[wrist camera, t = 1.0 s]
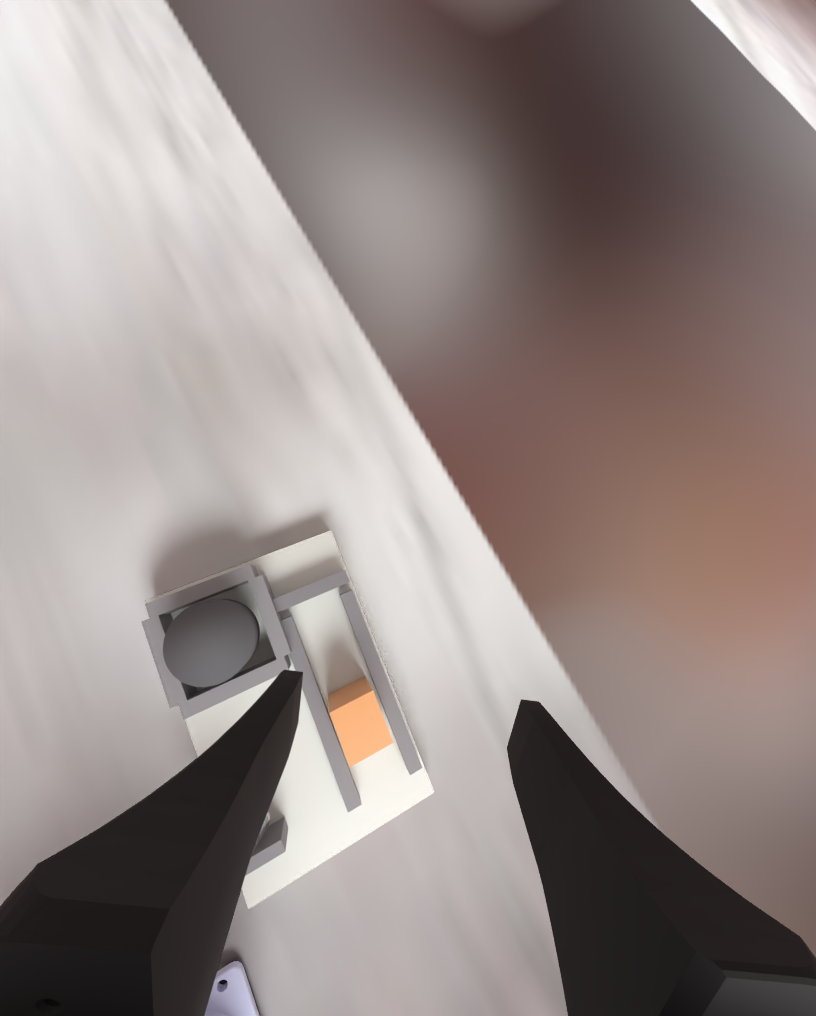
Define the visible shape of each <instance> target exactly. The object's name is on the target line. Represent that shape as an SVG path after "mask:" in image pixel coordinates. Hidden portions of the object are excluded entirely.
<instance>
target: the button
mask: <svg viewBox="0 0 816 1016" xmlns="http://www.w3.org/2000/svg"><path fill="white" fill-rule="evenodd" d="M259 638H260V628H259V623H258V620H257V618H256V616H255V615H254V613H253V612H252V611H251V609H249V608H248V607H247V606H246V605H244V604H243V603H241V602H238V601H235V600H230V599H218V600H210V601H204V602H200V603H197V604H194V605H192V606H190V607H188V608H187V609H185V610H184V611H182V612H181V613H180V614H179V615H178V616H177V617H176V618H175V619H174V620H173V621H172V623H171V624H170V626H169V628H168V630H167V632H166V634H165V637H164V642H163V657H164V661H165V663H166V666H167V668H168V669H169V671H170V672H171V673H172V675H173V676H174V677H175V678H177V679H178V680H179V681H181V682H183V683H185V684H187V685H191V686H195V687H209V686H214V685H218V684H220V683H223V682H225V681H227V680H228V679H230V678H231V677H233V676H234V675H235V674H236V673H237V672H239V670H240V669H241V668H242V667H243V666H244V665H245V664H246V663H247V662H248V661H249V660H250V659H251V657H252V656H253V654H254V653H255V651H256V649H257V646H258V643H259Z"/></svg>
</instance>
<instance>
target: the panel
mask: <svg viewBox="0 0 816 1016" xmlns="http://www.w3.org/2000/svg"><path fill="white" fill-rule="evenodd" d="M218 599H230V600H235V601H238V602H241V603H243V604H244V605H246V606H247V607H248V608H249V609H251V611H252V612H253V613H254V615H255V616H256V618H257V620H258V623H259V628H260V638H259V643H258V646H257V649H256V651H255V653H254V654H253V656H252V657H251V659H250V660H249V661H248V662H247V663H246V664H245V665H244V666H243V667H242V668H241V669H240V670H239V672H237V673H236V674H235V675H234V676H233V677H231V678H230V679H228V680H227V681H225V682H223V683H220V684H218V685H214V686H209V687H195V686H191V685H187V684H185V683H183V682H181V681H179V680H178V679H177V678H175V677H174V676H173V675H172V673H171V672H170V671H169V669H168V668H167V666H166V663H165V661H164V657H163V642H164V637H165V634H166V632H167V630H168V628H169V626H170V624H171V623H172V621H173V620H174V619H175V618H176V617H177V616H178V615H179V614H180V613H181V612H182V611H184V610H185V609H187V608H188V607H190V606H192V605H194V604H197V603H200V602H204V601H210V600H218ZM145 602H146V604H145V605H146V608H147V611H148V614H149V617H150V619H148V620H145V621H142V625H143V628H144V631H145V634H146V637H147V640H148V643H149V646H150V649H151V652H152V655H153V658H154V661H155V664H156V667H157V670H158V673H159V676H160V679H161V682H162V685H163V688H164V691H165V694H166V697H167V700H168V703H169V706H170V708H172V707H174V706H176V705H179V707H180V710H181V713H182V716H183V719H185V721H186V724H187V727H188V730H189V733H190V736H191V739H192V742H193V745H194V748H195V751H196V754H197V757H199V756H200V755H201V754H202V753H203V752H205V751H206V750H207V749H208V748H209V747H210V746H211V745H212V744H214V743H215V742H216V741H217V740H218V739H219V738H220V737H221V736H222V735H223V734H224V733H225V732H226V731H227V730H228V729H229V728H230V727H231V726H233V725H234V724H235V723H236V722H237V721H238V720H239V719H240V718H241V717H242V716H243V714H244V713H245V712H246V711H247V710H248V709H249V708H250V707H251V706H252V705H253V704H254V703H255V702H256V701H257V700H258V698H259V697H260V696H261V695H262V694H263V693H264V692H265V691H266V689H267V688H268V687H269V686H270V685H271V684H272V682H273V681H274V680H275V679H276V677H277V676H278V675H279V674H280V672H282V671H283V670H292V671H299V672H303V680H302V691H301V701H300V711H299V721H298V726H297V729H296V733H295V737H294V740H293V744H292V748H291V751H290V755H289V758H288V760H287V763H286V766H285V768H284V771H283V774H282V776H281V779H280V781H279V784H278V787H277V789H276V792H275V794H274V797H273V799H272V802H271V805H270V807H269V810H268V812H269V814H270V822H269V826H268V828H267V829H266V831H265V833H264V834H263V836H262V838H261V839H260V841H259V843H258V844H257V846H256V848H255V849H254V851H253V853H252V855H251V858H250V862H249V865H248V868H247V872H246V875H245V878H244V881H243V885H242V888H241V889H242V892H243V895H244V898H245V901H246V904H247V907H248V909H250V908H251V907H253V906H255V905H256V904H258V903H259V902H261V901H262V900H264V899H266V898H267V897H269V896H270V895H272V894H274V893H275V892H277V891H278V890H280V889H282V888H283V887H285V886H286V885H288V884H289V883H291V882H293V881H294V880H296V879H297V878H299V877H301V876H302V875H304V874H305V873H307V872H309V871H310V870H312V869H313V868H315V867H316V866H318V865H320V864H321V863H323V862H324V861H326V860H328V859H329V858H331V857H332V856H334V855H336V854H337V853H339V852H340V851H342V850H343V849H345V848H347V847H348V846H350V845H351V844H353V843H355V842H356V841H358V840H359V839H361V838H363V837H364V836H366V835H367V834H369V833H370V832H372V831H374V830H375V829H377V828H378V827H380V826H382V825H383V824H385V823H386V822H388V821H390V820H391V819H393V818H394V817H396V816H397V815H399V814H401V813H402V812H404V811H405V810H407V809H409V808H410V807H412V806H413V805H415V804H417V803H418V802H420V801H421V800H423V799H424V798H426V797H428V796H429V795H431V794H432V793H434V790H433V787H432V785H431V782H430V780H429V777H428V775H427V772H426V769H425V767H424V764H423V762H422V759H421V757H420V754H419V752H418V749H417V747H416V744H415V742H414V739H413V736H412V734H411V731H410V729H409V726H408V724H407V721H406V719H405V716H404V714H403V711H402V708H401V706H400V703H399V701H398V698H397V696H396V693H395V691H394V688H393V686H392V683H391V681H390V678H389V675H388V673H387V670H386V668H385V665H384V663H383V660H382V658H381V655H380V653H379V650H378V647H377V645H376V642H375V640H374V637H373V635H372V632H371V630H370V627H369V625H368V622H367V620H366V617H365V614H364V612H363V609H362V607H361V604H360V602H359V599H358V597H357V594H356V592H355V589H354V586H353V584H352V581H351V579H350V576H349V574H348V571H347V569H346V566H345V564H344V561H343V559H342V556H341V553H340V551H339V548H338V546H337V543H336V541H335V538H334V536H333V533H332V531H331V530H330V531H327V532H325V533H322V534H319V535H317V536H314V537H311V538H309V539H306V540H303V541H301V542H298V543H296V544H293V545H290V546H288V547H285V548H282V549H280V550H277V551H274V552H272V553H269V554H266V555H264V556H261V557H258V558H256V559H253V560H251V561H248V562H245V563H243V564H240V565H237V566H235V567H232V568H229V569H227V570H224V571H221V572H219V573H216V574H213V575H211V576H208V577H206V578H203V579H200V580H198V581H195V582H192V583H190V584H187V585H184V586H182V587H179V588H176V589H174V590H171V591H168V592H166V593H163V594H161V595H158V596H155V597H153V598H150V599H147V600H145ZM364 676H366V678H367V680H368V682H369V684H370V685H371V687H372V689H373V691H374V694H375V696H376V699H377V702H378V704H379V707H380V709H381V712H382V714H383V717H384V720H385V722H386V725H387V727H388V730H389V733H390V735H391V738H392V740H393V743H392V744H390V745H388V746H387V747H385V748H383V749H381V750H380V751H378V752H376V753H374V754H373V755H371V756H369V757H367V758H366V759H364V760H362V761H360V762H359V763H357V764H355V765H353V766H351V767H349V764H348V762H347V759H346V756H345V754H344V751H343V748H342V746H341V743H340V740H339V737H338V735H337V732H336V729H335V727H334V724H333V721H332V719H331V716H330V713H329V704H328V694H330V693H332V692H334V691H336V690H338V689H340V688H342V687H344V686H346V685H348V684H350V683H352V682H354V681H356V680H358V679H360V678H362V677H364Z"/></svg>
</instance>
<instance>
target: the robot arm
mask: <svg viewBox="0 0 816 1016" xmlns="http://www.w3.org/2000/svg"><path fill="white" fill-rule="evenodd" d="M302 680H303V672H299V671H292V670H283V671H282V672H280V674H279V675H278V676H277V677H276V679H275V680H274V681H273V682H272V684H271V685H270V686H269V687H268V688H267V689H266V691H265V692H264V693H263V694H262V695H261V696H260V697H259V698H258V700H257V701H256V702H255V703H254V704H253V705H252V706H251V707H250V708H249V709H248V710H247V711H246V712H245V713H244V714H243V716H242V717H241V718H240V719H239V720H238V721H237V722H236V723H235V724H234V725H233V726H231V727H230V728H229V729H228V730H227V731H226V732H225V733H224V734H223V735H222V736H221V737H220V738H219V739H218V740H217V741H216V742H215V743H214V744H212V745H211V746H210V747H209V748H208V749H207V750H206V751H205V752H203V753H202V754H201V755H200V756H199V757H198V758H196V759H195V760H194V761H193V762H192V763H190V764H189V765H188V766H187V767H185V768H184V769H183V770H182V771H180V772H179V773H178V774H177V775H175V776H174V777H173V778H171V779H170V780H169V781H167V782H166V783H165V784H163V785H162V786H161V787H160V788H158V789H157V790H155V791H154V792H153V793H151V794H150V795H149V796H147V797H146V798H144V799H143V800H141V801H140V802H138V803H137V804H135V805H134V806H132V807H131V808H129V809H128V810H126V811H125V812H123V813H122V814H120V815H119V816H117V817H116V818H114V819H113V820H111V821H110V822H108V823H107V824H105V825H104V826H102V827H101V828H99V829H97V830H96V831H94V832H93V833H91V834H89V835H87V836H86V837H84V838H82V839H80V840H79V841H77V842H75V843H74V844H72V845H70V846H68V847H67V848H65V849H63V850H62V851H60V852H58V853H56V854H55V855H53V856H51V857H49V858H48V859H46V860H44V861H42V862H40V863H38V864H37V865H36V867H35V868H34V869H33V870H32V871H31V872H30V873H29V875H28V876H27V877H26V878H25V879H24V880H23V881H22V882H21V883H20V884H19V885H18V886H17V887H16V889H15V890H14V891H13V892H12V893H11V894H10V896H9V897H8V898H7V899H6V900H5V901H4V903H3V904H2V905H1V906H0V1016H259V1013H258V1010H257V1007H256V1004H255V1001H254V998H253V995H252V992H251V988H250V985H249V982H248V979H247V976H246V973H245V970H244V967H243V965H242V963H240V962H239V961H234V962H231V963H229V964H228V965H226V966H225V967H223V968H222V969H220V970H219V971H217V970H218V966H219V963H220V959H221V956H222V952H223V949H224V945H225V942H226V939H227V935H228V932H229V928H230V925H231V922H232V918H233V915H234V911H235V908H236V905H237V901H238V898H239V895H240V891H241V888H242V885H243V881H244V878H245V875H246V872H247V868H248V865H249V862H250V858H251V855H252V852H253V850H254V847H255V844H256V841H257V838H258V836H259V833H260V830H261V828H262V825H263V823H264V820H265V817H266V815H267V812H268V810H269V807H270V805H271V802H272V799H273V797H274V794H275V792H276V789H277V787H278V784H279V781H280V779H281V776H282V774H283V771H284V768H285V766H286V763H287V760H288V758H289V755H290V751H291V748H292V744H293V740H294V737H295V733H296V729H297V726H298V721H299V711H300V701H301V691H302ZM507 751H508V757H509V763H510V769H511V774H512V779H513V784H514V787H515V791H516V794H517V798H518V801H519V805H520V808H521V812H522V815H523V818H524V822H525V825H526V828H527V832H528V835H529V839H530V842H531V845H532V849H533V852H534V855H535V859H536V862H537V865H538V869H539V873H540V877H541V881H542V884H543V889H544V893H545V898H546V903H547V908H548V912H549V917H550V922H551V926H552V931H553V936H554V941H555V947H556V952H557V957H558V962H559V967H560V972H561V978H562V983H563V989H564V994H565V1000H566V1006H567V1012H568V1016H816V957H815V956H814V955H813V954H812V952H811V951H810V949H809V948H808V947H807V945H806V944H805V942H804V941H803V940H802V939H801V937H800V936H798V935H797V934H795V933H794V932H792V931H791V930H790V929H788V928H787V927H785V926H784V925H782V924H781V923H779V922H778V921H777V920H775V919H774V918H772V917H771V916H769V915H768V914H766V913H765V912H763V911H762V910H761V909H759V908H757V907H756V906H755V905H753V904H752V903H750V902H749V901H747V900H746V899H745V898H743V897H742V896H741V895H739V894H738V893H737V892H735V891H734V890H733V889H731V888H730V887H729V886H727V885H726V884H725V883H723V882H722V881H721V880H719V879H718V878H717V877H715V876H714V875H713V874H711V873H710V872H709V871H708V870H706V869H705V868H704V867H703V866H701V865H700V864H699V863H697V862H696V861H695V860H694V859H693V858H691V857H690V856H689V855H688V854H687V853H685V852H684V851H683V850H682V849H680V848H679V847H678V846H677V845H676V844H675V843H673V842H672V841H671V840H670V839H669V838H667V837H666V836H665V835H664V834H663V833H662V832H661V831H660V830H658V829H657V828H656V827H655V826H654V825H653V824H652V823H651V822H650V821H649V820H647V819H646V818H645V817H644V816H643V815H642V814H641V813H640V812H639V811H638V810H637V809H636V808H635V807H634V806H633V805H631V804H630V803H629V802H628V801H627V800H626V799H625V798H624V797H623V796H622V795H621V794H620V793H619V792H618V791H617V790H616V789H615V787H614V786H613V785H612V784H611V783H610V782H609V781H608V780H607V779H606V778H605V777H604V776H603V775H602V774H601V773H600V772H599V771H598V770H597V768H596V767H595V766H594V765H593V764H592V763H591V762H590V761H589V760H588V758H587V757H586V756H585V755H584V754H583V753H582V752H581V750H580V749H579V748H578V747H577V746H576V745H575V744H574V742H573V741H572V740H571V739H570V738H569V736H568V735H567V734H566V733H565V732H564V731H563V729H562V728H561V727H560V726H559V725H558V723H557V722H556V721H555V720H554V719H553V717H552V716H551V715H550V714H549V713H548V711H547V710H546V709H545V708H544V707H543V706H542V705H541V703H540V702H537V701H529V700H521V702H520V705H519V709H518V712H517V715H516V719H515V722H514V725H513V729H512V732H511V736H510V739H509V742H508V746H507ZM223 979H224V980H226V981H227V983H226V984H224V985H222V984H220V983H219V981H220V980H223Z"/></svg>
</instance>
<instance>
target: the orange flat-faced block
mask: <svg viewBox="0 0 816 1016" xmlns="http://www.w3.org/2000/svg"><path fill="white" fill-rule="evenodd" d="M328 704H329V713H330V716H331V719H332V721H333V724H334V727H335V729H336V732H337V735H338V737H339V740H340V743H341V746H342V748H343V751H344V754H345V756H346V759H347V762H348V764H349V767H351V766H353V765H355V764H357V763H359V762H360V761H362V760H364V759H366V758H367V757H369V756H371V755H373V754H374V753H376V752H378V751H380V750H381V749H383V748H385V747H387V746H388V745H390V744H392V743H393V740H392V738H391V735H390V733H389V730H388V727H387V725H386V722H385V720H384V717H383V714H382V712H381V709H380V707H379V704H378V702H377V699H376V696H375V694H374V691H373V689H372V687H371V685H370V684H369V682H368V680H367V678H366V676H364V677H362V678H360V679H358V680H356V681H354V682H352V683H350V684H348V685H346V686H344V687H342V688H340V689H338V690H336V691H334V692H332V693H330V694H328Z"/></svg>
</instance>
